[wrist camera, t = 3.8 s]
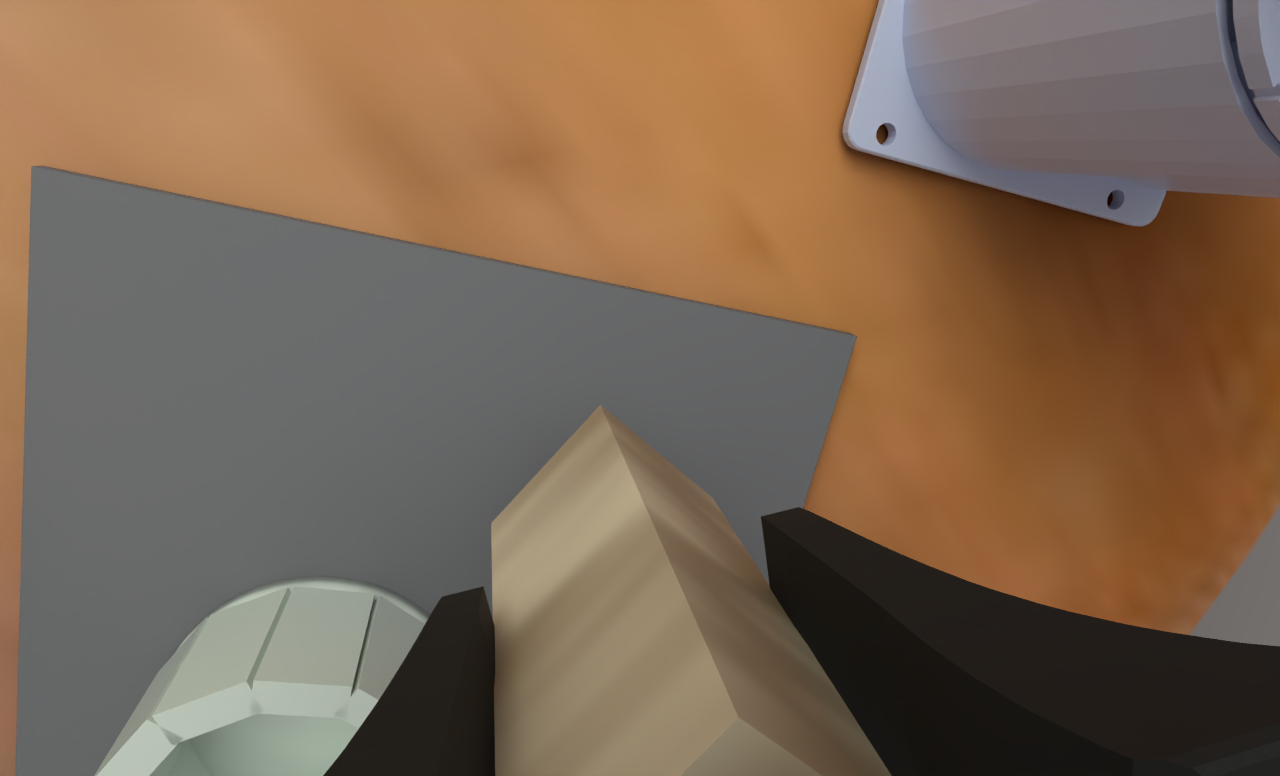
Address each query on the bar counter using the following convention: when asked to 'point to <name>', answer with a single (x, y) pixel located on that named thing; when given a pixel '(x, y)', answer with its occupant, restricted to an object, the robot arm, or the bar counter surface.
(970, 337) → the bar counter surface
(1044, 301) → the bar counter surface
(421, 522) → the mat
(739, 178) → the bar counter surface
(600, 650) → the peg
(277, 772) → the jar
